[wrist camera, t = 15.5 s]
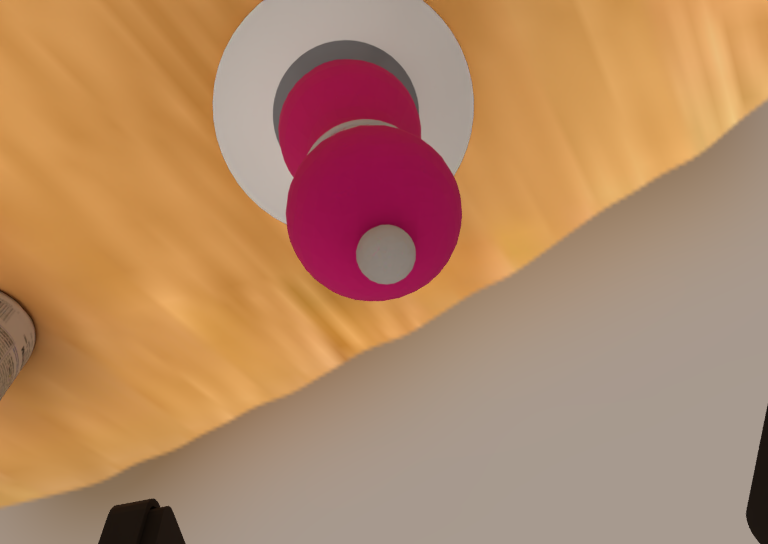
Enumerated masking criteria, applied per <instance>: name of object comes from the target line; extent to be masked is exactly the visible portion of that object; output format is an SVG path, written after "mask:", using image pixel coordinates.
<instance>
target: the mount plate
mask: <svg viewBox="0 0 768 544" xmlns="http://www.w3.org/2000/svg"><path fill="white" fill-rule="evenodd" d="M337 59H353V60H362V61H366V62H370V63H373V64H376V65H378V66H380V67H382V68H384V69H386V70H387V71H389V72H390V73H392V74H393V75H394V76H395V77H396V78H397V79H398V80H400V81H401V82H402V84H403V85H404V86H405V88H406V89H407V90H408V92H409V93H410V95H411V97H412V99H413V101H414V103H415V106H416V109H417V111H418V114H419V118H420V124H421V139H422V140H423V141H425V142H426V143H427V144H429V145H430V146H431V147H432V148H433V149H434V150H435V151H436V152H437V153H438V154H439V155H440V156H441V157H442V158H443V159H444V161H445V163H446V164H447V166H448V167H449V169H450V170H451V172H452V174H453V176H454V175H455V173H456V171H457V169H458V168H459V166H460V164H461V162H462V159H463V157H464V154H465V152H466V149H467V146H468V143H469V139H470V135H471V131H472V123H473V116H474V96H473V88H472V80H471V77H470V73H469V69H468V65H467V62H466V60H465V57H464V54H463V52H462V49H461V47H460V45H459V44H458V42H457V40H456V38H455V37H454V35H453V33H452V32H451V30H450V29H449V28H448V26H447V25H446V24H445V22H444V21H443V20H442V18H441V17H440V16H439V15H438V14H437V13H436V12H435V11H434V10H433V9H432V8H431V7H430V6H429V5H428V4H426V3H425V2H424V1H422V0H264V1H262V2H261V3H260V4H258V5H257V6H256V7H255V8H254V9H253V10H252V11H251V12H250V13H249V14H248V15H247V16H246V17H245V19H244V20H243V21H242V23H241V24H240V25H239V27H238V28H237V29H236V31H235V32H234V34H233V35H232V37H231V39H230V41H229V43H228V45H227V46H226V48H225V50H224V53H223V56H222V58H221V61H220V64H219V66H218V70H217V75H216V79H215V84H214V94H213V119H214V125H215V131H216V137H217V140H218V143H219V146H220V150H221V153H222V155H223V157H224V160H225V162H226V164H227V166H228V168H229V170H230V172H231V173H232V175H233V176H234V178H235V180H236V181H237V183H238V184H239V185H240V187H241V188H242V189H243V190H244V191H245V193H246V194H247V195H248V196H249V197H250V198H251V199H252V200H253V201H254V202H255V203H256V204H257V205H258V206H259V207H260V208H262V209H263V210H264V211H266V212H267V213H268V214H270V215H271V216H273V217H274V218H276V219H278V220H279V221H281V222H283V223H285V224H287V221H286V206H287V198H288V191H289V188H290V185H291V182H292V180H293V178H294V177H293V176H292V175H291V173H290V172H289V170H288V168H287V166H286V164H285V161H284V158H283V155H282V151H281V148H280V143H279V131H278V126H279V118H280V113H281V110H282V106H283V104H284V102H285V100H286V98H287V96H288V94H289V92H290V91H291V89H292V88H293V87H294V85H295V84H296V83H297V82H298V81H299V80H300V79H301V78H302V77H303V76H304V75H305V74H307V73H308V72H310V71H311V70H312V69H314V68H315V67H317V66H319V65H321V64H323V63H326V62H329V61H333V60H337Z"/></svg>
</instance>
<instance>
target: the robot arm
mask: <svg viewBox="0 0 768 544" xmlns="http://www.w3.org/2000/svg"><path fill="white" fill-rule="evenodd" d="M746 518H747V522H748V525H749V528H750V529H751V532H752V534H753V535H754V536H755V538H756V539H757V540H758V542H759V543H760V544H768V406H767V411H766V416H765V421H764V426H763V431H762V436H761V440H760V445H759V450H758V455H757V460H756V466H755V470H754V476H753V481H752V485H751V490H750V495H749V500H748V506H747V511H746ZM98 544H185V541H184V539H183V536H182V534H181V531H180V528H179V526H178V523H177V521H176V518H175V515H174V513H173V511H172V509H171V507H169V506H166V507H161V508H160V505H159V503H158V502H157V501H156V500H155V499H148V500H143V501H138V502H133V503H127V504H121V505H116V506H114V507H113V508H112V509H111V510H110V512H109V514H108V517H107V520H106V523H105V525H104V528H103V531H102V534H101V537H100V540H99V543H98Z"/></svg>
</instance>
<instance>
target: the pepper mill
mask: <svg viewBox="0 0 768 544" xmlns="http://www.w3.org/2000/svg"><path fill="white" fill-rule="evenodd" d="M278 131H279V143H280V148H281V151H282V155H283V158H284V161H285V164H286V166H287V168H288V170H289V172H290V173H291V175H292V176H293V177H294V178H293V180H292V182H291V185H290V188H289V191H288V198H287V206H286V221H287V229H288V234H289V238H290V242H291V244H292V246H293V249H294V251H295V253H296V255H297V257H298V258H299V260H300V261H301V263H302V264H303V266H304V267H305V269H306V270H307V271H308V272H309V273H310V274H311V275H312V276H313V277H314V278H315V279H316V280H317V281H318V282H320V283H321V284H323V285H324V286H325V287H327V288H328V289H330V290H331V291H333V292H335V293H337V294H339V295H341V296H345V297H348V298H351V299H355V300H363V301H385V300H390V299H395V298H400V297H402V296H405V295H407V294H410V293H412V292H414V291H417V290H418V289H420V288H421V287H423V286H425V285H426V284H428V283H429V282H430V281H431V280H432V279H433V278H434V277H436V276H437V275H438V274H439V273H440V271H441V270H442V269H443V267H444V266H445V265H446V263H447V262H448V261H449V259H450V257H451V254H452V252H453V250H454V248H455V246H456V244H457V241H458V236H459V232H460V228H461V219H462V209H461V197H460V193H459V190H458V186H457V183H456V180H455V178H454V176H453V174H452V172H451V170H450V169H449V167H448V166H447V164H446V163H445V161H444V159H443V158H442V157H441V156H440V155H439V154H438V153H437V152H436V151H435V150H434V149H433V148H432V147H431V146H430V145H429V144H427V143H426V142H425V141H423V140H422V139H421V124H420V118H419V114H418V111H417V109H416V106H415V103H414V101H413V99H412V97H411V95H410V93H409V92H408V90H407V89H406V88H405V86H404V85H403V84H402V82H401V81H400V80H398V79H397V78H396V77H395V76H394V75H393V74H392V73H390V72H389V71H387V70H386V69H384V68H382V67H380V66H378V65H376V64H373V63H370V62H366V61H362V60H353V59H337V60H333V61H329V62H326V63H323V64H321V65H319V66H317V67H315V68H314V69H312V70H311V71H310V72H308V73H307V74H305V75H304V76H303V77H302V78H301V79H300V80H299V81H298V82H297V83H296V84H295V85H294V87H293V88H292V89H291V91H290V92H289V94H288V96H287V98H286V100H285V102H284V104H283V106H282V110H281V113H280V118H279V126H278Z"/></svg>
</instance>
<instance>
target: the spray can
mask: <svg viewBox="0 0 768 544" xmlns="http://www.w3.org/2000/svg"><path fill="white" fill-rule="evenodd" d="M34 344H35V327H34V325H33V322H32V319H31V318H30V317H29V315H28V314H27V313H26V312H25V311H24V310H23V309H22V307H21V306H20V305H19V303H17V302H16V301H15V300H13V299H12V298H11V297H9V296H7V295H6V294H4V293H2V292H1V291H0V400H1V398H2V397H3V395H4V394H5V392H6V391H7V390H8V388H9V387H10V385H11V384H12V382H13V381H14V379H15V378H16V377H17V375H18V374H19V372H20V371H21V369H22V368H23V366H24V365H25V364H26V362H27V361H28V359H29V357H30V355H31V353H32V351H33V348H34Z"/></svg>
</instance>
